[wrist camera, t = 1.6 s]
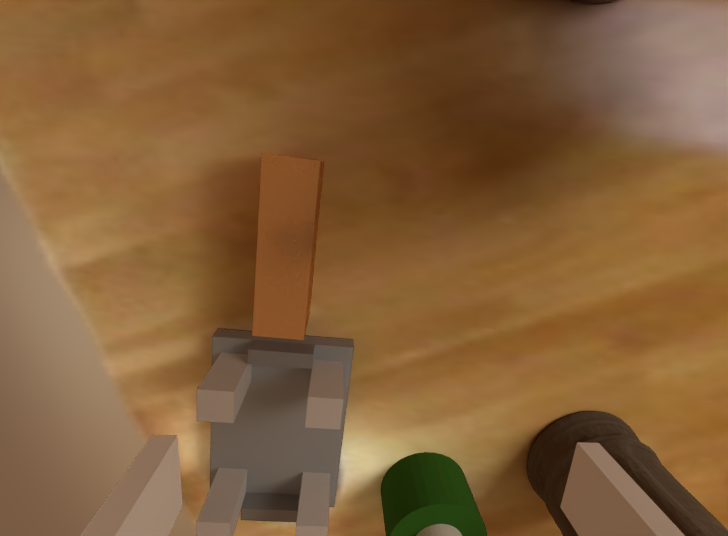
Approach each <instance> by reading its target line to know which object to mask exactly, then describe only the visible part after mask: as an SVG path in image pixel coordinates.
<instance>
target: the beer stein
mask: <svg viewBox="0 0 728 536" xmlns="http://www.w3.org/2000/svg"><path fill="white" fill-rule="evenodd" d="M577 442H581V443H599V444H600V445H601V446H602V447H603V448H604V449H605V450H606V451H607V452H608V453H609V455H610V456H611V457H612V458H613V459H614V460H615V461H616V462H617V463H618V464H619V465H620V466H621V467H622V468H623V470H624V471H625V472H626V473H627V474H628V475H629V476H630V477H631V478H632V479H633V480H634V481H635V482H636V484H637V485H638V486H639V487H640V488H641V489H642V490H643V491H644V492H645V493H646V494H647V495H648V496H649V497H650V499H651V500H652V501H653V502H654V503H655V504H656V505H657V506H658V507H659V508H660V509H661V510H662V511H663V512H664V514H665V515H666V516H667V517H668V518H669V519H670V520H671V521H672V522H673V523H674V524H675V525H676V526H677V528H678V529H679V530H680V531H681V532H682V533H683V534H684V535H685V536H728V530H727V529H726V528H725V527H724V526H723V525H722V524H721V523H720V522H719V521H718V520H717V519H716V518H715V517H714V516H713V515H712V514H711V513H710V512H709V511H708V510H707V509H706V508H705V507H704V506H703V505H702V504H701V503H700V502H699V501H698V500H697V499H695V498H694V497H693V496H692V495H691V494H690V493H689V492H688V491H687V490H686V489H685V488H684V487H683V486H682V485H681V484H680V483H679V482H678V481H677V480H676V479H675V478H674V477H673V476H672V475H671V474H670V473H669V472H668V471H667V470H666V468H665V467H664V466H663V465H662V464H661V462H660V461H659V459H658V457H657V456H656V454H655V452H654V451H653V450H652V449H651V448H650V447H648V446H647V445H645V444H643V443H641V442H640V440H639V439H638V437H637V436H636V435H635V433H634V432H633V430H632V429H631V428H630V427H629V426H628V425H627V424H626V423H625V422H624V421H623V420H621V419H620V418H618V417H616V416H614V415H612V414H609V413H606V412H598V411H583V412H579V413H575V414H571V415H568V416H566V417H563V418H561V419H560V420H558V421H556V422H554V423H553V424H551V425H550V426H549V427H548V428H547V429H545V430H544V431H543V432H542V433H541V434H540V436H539V437H538V438H537V439H536V441H535V443H534V445H533V447H532V449H531V451H530V454H529V457H528V464H527V472H528V477H529V481H530V483H531V485H532V487H533V489H534V490H535V491H536V493H537V494H538V495H539V496H540V497H541V498H542V499H543V500H544V502H545V503H546V506H547V508H548V510H549V512H550V514H551V515H552V517H553V519H554V521H555V523H556V524H557V526H558V527H559V529H560V530H561V532H562V534H563V536H579V535H578V534H577V532H576V531H575V529H574V528H573V526H572V524H571V523H570V521H569V520H568V518H567V517H566V515H565V514H564V512H563V510H562V509H561V507H560V506H561V502H562V499H563V495H564V491H565V487H566V483H567V479H568V476H569V472H570V468H571V464H572V460H573V456H574V452H575V449H576V445H577Z"/></svg>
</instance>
